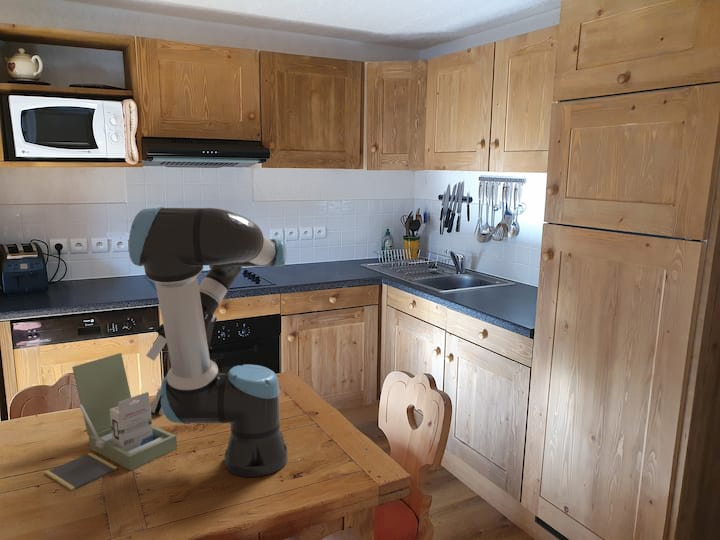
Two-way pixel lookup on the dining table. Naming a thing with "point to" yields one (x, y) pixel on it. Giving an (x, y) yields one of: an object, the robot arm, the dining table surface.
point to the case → (97, 396)
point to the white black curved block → (157, 403)
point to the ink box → (132, 422)
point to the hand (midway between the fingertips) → (165, 363)
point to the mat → (81, 471)
